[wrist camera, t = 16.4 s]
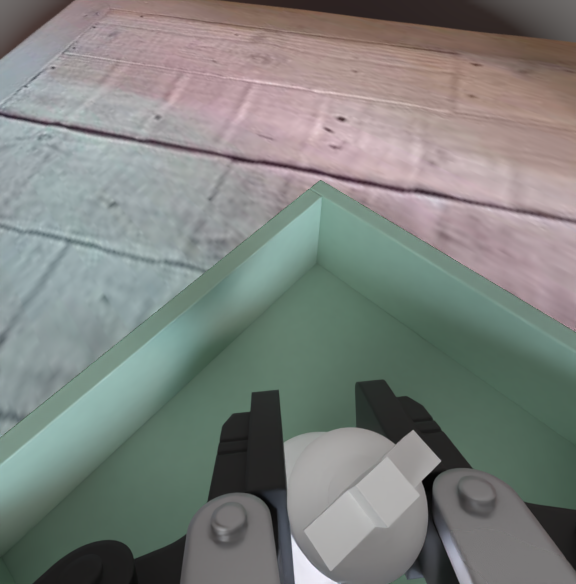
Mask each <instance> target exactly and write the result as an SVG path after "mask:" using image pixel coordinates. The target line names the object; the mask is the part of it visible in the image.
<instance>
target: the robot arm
mask: <svg viewBox="0 0 576 584" xmlns="http://www.w3.org/2000/svg"><path fill="white" fill-rule="evenodd" d="M355 407H356V428H362V429H367V430H370V431H373V432H376V433H378V434H380V435H382V436H384V437H386V438H387V439H389V440H390V441H392V442H393V443H394V444H395V445H396V444H397V443H398V442H399V441H400V440H401V439H402V438H403V437H404V436H406V435H407V434H408V433H410V432H411V431H412V430H414V431H415V432H416V433H417V435H418V436H419V437H420V438H421V439H422V440H423V441H424V442H425V443H426V444H427V446H428V447H429V448H430V449H431V450H432V451H433V452H434V453H435V454H436V456H437V457H438V458H439V459H440V460H441V462H440V463H439V464H438V465H437V466H436V467H435V468H434V469H433V470H432V471H431V472H430V473H429V474H428V475H427V476H426V477H425V478H424V479H423V480H422V484H423V487H424V490H425V494H426V499H427V505H428V526H427V533H426V537H425V541H424V544H423V547H422V549H421V551H420V553H419V555H418V557H417V559H416V560H415V562H414V563H413V565H412V566H411V567H410V568H409V569H408V570H407V571H406V572H405V576H406V578H407V580H410V579H419V578H425V581H426V583H427V584H576V510H574V509H567V508H560V507H553V506H546V505H539V504H533V503H528V502H524V501H523V500H522V499H521V498H520V496H519V495H518V494H517V493H516V491H515V490H514V489H513V488H512V487H510V486H509V485H508V484H507V483H505V482H504V481H502V480H501V479H499V478H497V477H495V476H493V475H491V474H489V473H486V472H483V471H480V470H475V469H473V468H472V467H471V465H470V464H469V463H468V462H467V460H466V459H465V458H464V457H463V455H462V454H461V453H460V451H459V450H458V449H457V448H456V446H455V445H454V444H453V443H452V441H451V440H450V439H449V438H448V436H447V435H446V434H445V433H444V431H442V430H441V428H440V426H439V425H438V424H437V423H436V421H435V420H434V421H433V417H432V416H431V415H430V414H429V412H428V411H427V410H426V409H425V407H424V406H423V405H421V404H420V403H418V402H416V401H415V400H413V399H411V398H410V397H408V396H401V397H396V396H395V394H394V393H393V391H392V390H391V388H390V387H389V385H388V384H387V382H386V381H385V380H384V379H381V380H371V381H361V382H356V384H355ZM219 441H220V443H219V445H218V450H217V455H216V460H215V465H214V470H213V475H212V480H211V485H210V490H209V495H208V500H207V503H206V504H205V505H203V506H202V507H201V508H200V509H199V510H198V511H197V512H196V513H195V515H194V516H193V518H192V519H191V521H190V523H189V526H188V529H187V534H185V535H184V536H183V537H181V538H180V539H178V540H177V541H175V542H173V543H171V544H169V545H167V546H165V547H163V548H160V549H158V550H155V551H153V552H150V553H148V554H145V555H143V556H140V557H138V558H135V559H134V557H133V554H132V552H131V550H130V548H129V547H128V546H127V545H125V544H124V543H122V542H119V541H116V540H101V541H96V542H92V543H89V544H86V545H84V546H81V547H79V548H77V549H75V550H73V551H72V552H70V553H68V554H67V555H65V556H64V557H62V558H61V559H60V560H58V561H57V562H56V563H55V564H54V565H52V566H51V567H50V568H49V569H48V570H47V571H46V572H45V573H44V574H42V575H41V576H40V577H39V578H38V579H37V580H36V581H35V582H34V583H33V584H295V579H294V566H293V554H292V541H291V532H290V522H289V517H288V511H287V477H286V465H285V453H284V441H283V430H282V419H281V408H280V397H279V390H269V391H259V392H252V394H251V408H250V412H242V413H233V414H232V415H231V416H230V417H229V418H228V420H227V421H226V422H225V423H224V424H223V426H222V429H221V435H220V440H219Z"/></svg>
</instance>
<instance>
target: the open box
mask: <svg viewBox="0 0 576 584" xmlns="http://www.w3.org/2000/svg"><path fill="white" fill-rule="evenodd" d="M381 379H384V380H385V381H386V382H387V384H388V385H389V387H390V388H391V390H392V391H393V393H394V394H395V396H396V397H401V396H408V397H410V398H411V399H413V400H415V401H416V402H418V403H420V404H421V405H423V406H424V407H425V409H426V410H427V411H428V412H429V414H430V415H431V416H432V417H433V421H434V420H435V421H436V423H437V424H438V425H439V426H440V428H441V430H442V431H444V433H445V434H446V435H447V436H448V438H449V439H450V440H451V441H452V443H453V444H454V445H455V446H456V448H457V449H458V450H459V451H460V453H461V454H462V455H463V457H464V458H465V459H466V460H467V462H468V463H469V464H470V465H471V467H472V468H473V469H475V470H480V471H483V472H486V473H489V474H491V475H493V476H495V477H497V478H499V479H501V480H502V481H504V482H505V483H507V484H508V485H509V486H510V487H512V488H513V489H514V490H515V491H516V493H517V494H518V495H519V496H520V498H521V499H522V500H523V501H524V502H528V503H533V504H539V505H546V506H553V507H560V508H567V509H574V510H576V332H575V331H573V330H571V329H569V328H568V327H566V326H564V325H563V324H561V323H559V322H558V321H556V320H554V319H553V318H551V317H549V316H548V315H546V314H544V313H543V312H541V311H539V310H538V309H536V308H534V307H533V306H531V305H529V304H528V303H526V302H524V301H523V300H521V299H519V298H518V297H516V296H514V295H513V294H511V293H509V292H508V291H506V290H504V289H503V288H501V287H499V286H498V285H496V284H494V283H492V282H491V281H489V280H487V279H486V278H484V277H482V276H481V275H479V274H477V273H476V272H474V271H472V270H471V269H469V268H467V267H466V266H464V265H462V264H461V263H459V262H457V261H456V260H454V259H452V258H451V257H449V256H447V255H446V254H444V253H442V252H441V251H439V250H437V249H436V248H434V247H432V246H431V245H429V244H427V243H426V242H424V241H422V240H421V239H419V238H417V237H416V236H414V235H412V234H410V233H409V232H407V231H405V230H404V229H402V228H400V227H399V226H397V225H395V224H394V223H392V222H390V221H389V220H387V219H385V218H384V217H382V216H380V215H379V214H377V213H375V212H374V211H372V210H370V209H369V208H367V207H365V206H364V205H362V204H360V203H359V202H357V201H355V200H354V199H352V198H350V197H349V196H347V195H345V194H344V193H342V192H340V191H339V190H337V189H335V188H334V187H332V186H330V185H328V184H327V183H325V182H323V181H322V180H320V181H318V182H317V183H316V184H315V185H313V186H312V187H311V188H310V189H308V190H307V191H306V192H304V193H303V194H302V195H301V196H299V197H298V198H297V199H296V200H294V201H293V202H292V203H291V204H290V205H288V206H287V207H286V208H285V209H283V210H282V211H281V212H280V213H278V214H277V215H276V216H275V217H273V218H272V219H271V220H270V221H268V222H267V223H266V224H265V225H263V226H262V227H261V228H260V229H258V230H257V231H256V232H255V233H254V234H252V235H251V236H250V237H249V238H247V239H246V240H245V241H244V242H242V243H241V244H240V245H239V246H237V247H236V248H235V249H234V250H232V251H231V252H230V253H229V254H227V255H226V256H225V257H224V258H222V259H221V260H220V261H219V262H218V263H216V264H215V265H214V266H213V267H211V268H210V269H209V270H208V271H206V272H205V273H204V274H203V275H201V276H200V277H199V278H198V279H196V280H195V281H194V282H193V283H191V284H190V285H189V286H188V287H186V288H185V289H184V290H183V291H182V292H180V293H179V294H178V295H177V296H175V297H174V298H173V299H172V300H170V301H169V302H168V303H167V304H165V305H164V306H163V307H162V308H160V309H159V310H158V311H157V312H155V313H154V314H153V315H152V316H151V317H149V318H148V319H147V320H146V321H144V322H143V323H142V324H141V325H139V326H138V327H137V328H136V329H134V330H133V331H132V332H131V333H129V334H128V335H127V336H126V337H124V338H123V339H122V340H121V341H119V342H118V343H117V344H116V345H115V346H113V347H112V348H111V349H110V350H108V351H107V352H106V353H105V354H103V355H102V356H101V357H100V358H98V359H97V360H96V361H95V362H93V363H92V364H91V365H90V366H88V367H87V368H86V369H85V370H83V371H82V372H81V373H80V374H79V375H77V376H76V377H75V378H74V379H72V380H71V381H70V382H69V383H67V384H66V385H65V386H64V387H62V388H61V389H60V390H59V391H57V392H56V393H55V394H54V395H52V396H51V397H50V398H49V399H47V400H46V401H45V402H44V403H43V404H41V405H40V406H39V407H38V408H36V409H35V410H34V411H33V412H31V413H30V414H29V415H28V416H26V417H25V418H24V419H23V420H21V421H20V422H19V423H18V424H16V425H15V426H14V427H13V428H11V429H10V430H9V431H8V432H7V433H5V434H4V435H3V436H2V437H0V584H33V583H34V582H35V581H36V580H37V579H38V578H39V577H40V576H41V575H42V574H44V573H45V572H46V571H47V570H48V569H49V568H50V567H51V566H52V565H54V564H55V563H56V562H57V561H58V560H60V559H61V558H62V557H64V556H65V555H67V554H68V553H70V552H72V551H73V550H75V549H77V548H79V547H81V546H84V545H86V544H89V543H92V542H96V541H101V540H116V541H119V542H122V543H124V544H125V545H127V546H128V547H129V548H130V550H131V552H132V554H133V557H134V559H135V558H138V557H140V556H143V555H145V554H148V553H150V552H153V551H155V550H158V549H160V548H163V547H165V546H167V545H169V544H171V543H173V542H175V541H177V540H178V539H180V538H181V537H183V536H184V535H185V534H187V529H188V526H189V523H190V521H191V519H192V518H193V516H194V515H195V513H196V512H197V511H198V510H199V509H200V508H201V507H202V506H203V505H205V504H206V503H207V500H208V495H209V490H210V485H211V480H212V475H213V470H214V465H215V460H216V455H217V450H218V445H219V443H220V441H219V440H220V435H221V429H222V426H223V424H224V423H225V422H226V421H227V420H228V418H229V417H230V416H231V415H232V414H233V413H242V412H250V408H251V394H252V392H259V391H269V390H279V397H280V408H281V419H282V430H283V441H284V442H285V441H287V440H289V439H291V438H293V437H295V436H298V435H301V434H305V433H310V432H329V431H332V430H335V429H339V428H346V427H355V428H356V407H355V384H356V382H361V381H371V380H381ZM389 584H427V583H426V581H425V578H419V579H410V580H407V578H406V576H405V573H404V574H403V575H402V576H401V577H399V578H398V579H396V580H395V581H393V582H391V583H389Z"/></svg>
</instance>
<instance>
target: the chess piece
mask: <svg viewBox="0 0 576 584" xmlns="http://www.w3.org/2000/svg"><path fill="white" fill-rule="evenodd" d="M284 453H285V465H286V477H287V511H288V517H289V522H290V532H291V541H292V554H293V566H294V579H295V584H389V583H391V582H393V581H395V580H396V579H398V578H399V577H401V576H402V575H403V574H404V573H405V572H406V571H407V570H408V569H409V568H410V567H411V566H412V565H413V563H414V562H415V560H416V559H417V557H418V555H419V553H420V551H421V549H422V547H423V544H424V541H425V537H426V533H427V526H428V505H427V499H426V494H425V490H424V487H423V484H422V480H423V479H424V478H425V477H426V476H427V475H428V474H429V473H430V472H431V471H432V470H433V469H434V468H435V467H436V466H437V465H438V464H439V463H440V462H441V460H440V459H439V458H438V457H437V456H436V454H435V453H434V452H433V451H432V450H431V449H430V448H429V447H428V446H427V444H426V443H425V442H424V441H423V440H422V439H421V438H420V437H419V436H418V435H417V433H416V432H415V431H414V430H412V431H411V432H410V433H408V434H407V435H406V436H404V437H403V438H402V439H401V440H400V441H399V442H398V443H397V444H396V445H395V444H394V443H393V442H392V441H390V440H389V439H387V438H386V437H384V436H382V435H380V434H378V433H376V432H373V431H370V430H367V429H362V428H355V427H346V428H339V429H335V430H332V431H329V432H310V433H305V434H301V435H298V436H295V437H293V438H291V439H289V440H287V441H285V442H284Z"/></svg>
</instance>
